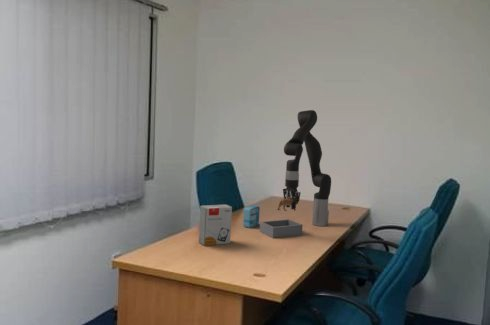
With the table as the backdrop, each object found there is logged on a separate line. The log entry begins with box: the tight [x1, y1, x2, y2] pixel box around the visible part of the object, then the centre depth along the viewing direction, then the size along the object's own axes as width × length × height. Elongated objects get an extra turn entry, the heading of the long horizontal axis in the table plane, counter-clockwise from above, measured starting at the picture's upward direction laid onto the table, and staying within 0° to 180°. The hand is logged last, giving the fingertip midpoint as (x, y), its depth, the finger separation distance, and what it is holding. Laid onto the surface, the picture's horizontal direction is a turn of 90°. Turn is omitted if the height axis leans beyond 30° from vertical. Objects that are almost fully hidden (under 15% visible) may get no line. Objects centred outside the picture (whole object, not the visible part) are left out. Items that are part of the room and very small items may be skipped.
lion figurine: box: [277, 196, 301, 212], centre depth 263 cm, size 15×5×9 cm, turn 119°
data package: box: [242, 205, 261, 229], centre depth 286 cm, size 12×4×12 cm, turn 149°
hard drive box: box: [198, 204, 233, 246], centre depth 246 cm, size 16×8×20 cm, turn 117°
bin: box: [259, 219, 303, 239], centre depth 272 cm, size 20×14×6 cm
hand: (290, 207), depth 264 cm, fingers closed on lion figurine, 4 cm apart
